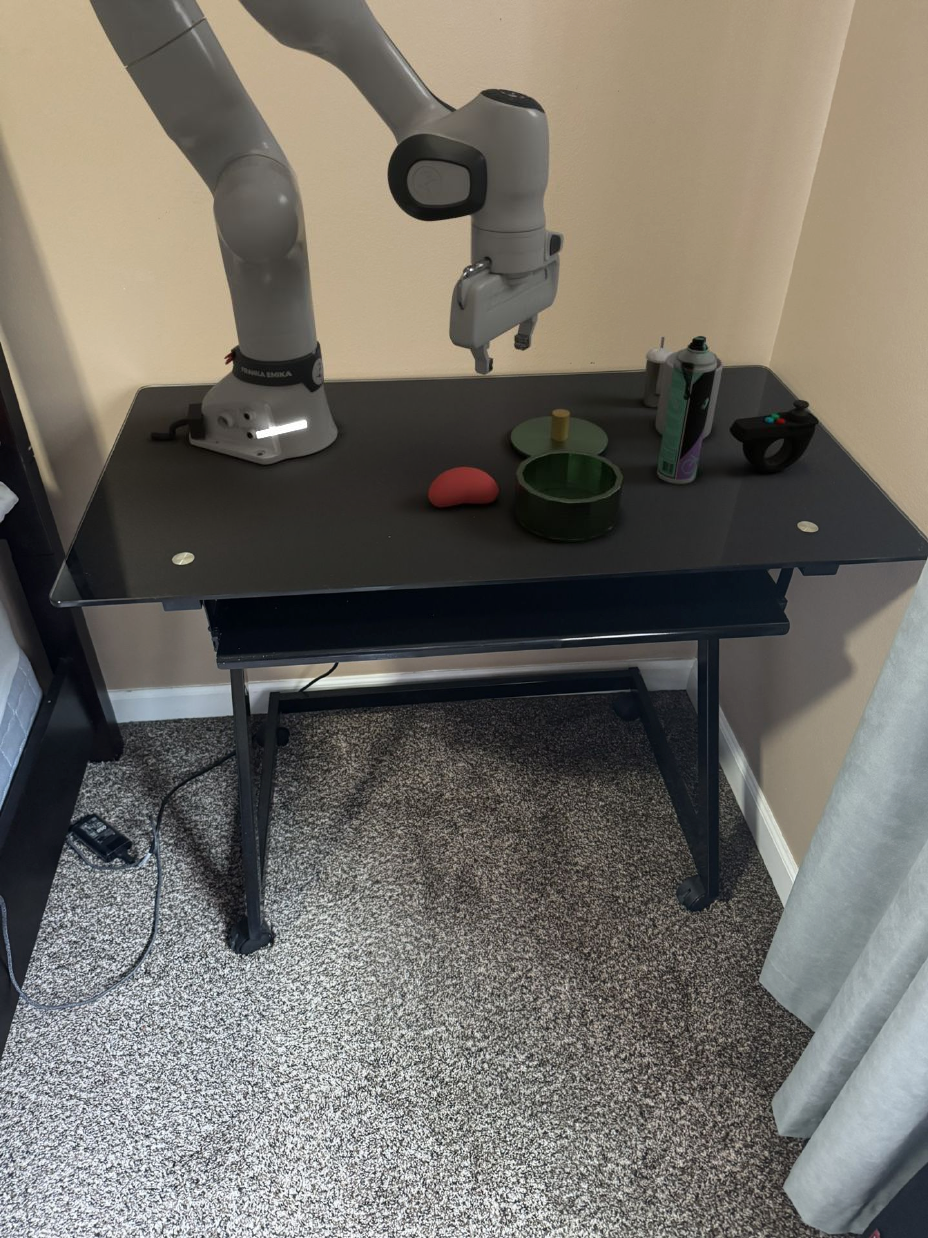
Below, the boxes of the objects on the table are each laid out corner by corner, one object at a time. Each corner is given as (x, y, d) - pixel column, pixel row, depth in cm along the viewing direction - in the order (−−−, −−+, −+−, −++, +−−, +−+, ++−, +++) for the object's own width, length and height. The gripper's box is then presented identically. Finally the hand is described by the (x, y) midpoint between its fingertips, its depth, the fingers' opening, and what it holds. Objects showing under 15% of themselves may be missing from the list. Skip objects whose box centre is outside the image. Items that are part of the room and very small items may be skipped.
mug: (650, 416, 140) (660, 349, 133) (703, 416, 140) (716, 349, 133) (664, 452, 131) (675, 383, 124) (721, 452, 131) (736, 382, 124)
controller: (810, 471, 126) (828, 407, 120) (731, 481, 124) (745, 416, 118) (794, 457, 129) (811, 394, 123) (717, 467, 127) (730, 403, 121)
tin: (504, 533, 114) (505, 492, 110) (528, 482, 124) (530, 443, 120) (608, 549, 111) (613, 509, 107) (624, 496, 121) (629, 457, 117)
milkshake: (668, 396, 146) (677, 337, 139) (667, 410, 142) (676, 350, 135) (641, 394, 147) (649, 335, 140) (638, 407, 142) (646, 348, 136)
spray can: (695, 485, 123) (722, 347, 111) (656, 481, 124) (677, 343, 111) (695, 467, 127) (721, 331, 115) (657, 463, 128) (678, 328, 116)
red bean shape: (438, 496, 124) (421, 469, 118) (498, 476, 121) (483, 448, 116) (442, 525, 121) (424, 499, 116) (503, 505, 119) (488, 478, 113)
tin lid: (499, 460, 129) (500, 428, 126) (522, 417, 140) (524, 386, 137) (598, 474, 126) (601, 441, 122) (614, 429, 137) (617, 398, 133)
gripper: (482, 275, 97) (480, 393, 105) (570, 232, 110) (562, 340, 118) (435, 265, 99) (437, 381, 108) (527, 224, 113) (522, 331, 121)
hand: (503, 359), depth 113 cm, fingers open, 8 cm apart
